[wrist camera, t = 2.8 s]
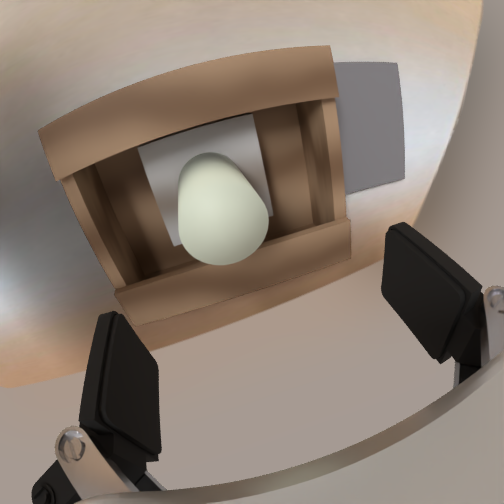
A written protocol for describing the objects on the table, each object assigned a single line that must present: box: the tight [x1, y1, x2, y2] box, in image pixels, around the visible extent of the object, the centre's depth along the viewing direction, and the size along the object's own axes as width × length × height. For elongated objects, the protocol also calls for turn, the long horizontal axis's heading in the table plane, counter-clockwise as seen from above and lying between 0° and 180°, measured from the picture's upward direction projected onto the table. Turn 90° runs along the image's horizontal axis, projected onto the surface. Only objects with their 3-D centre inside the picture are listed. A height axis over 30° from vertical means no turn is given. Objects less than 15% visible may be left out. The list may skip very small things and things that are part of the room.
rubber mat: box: [334, 62, 405, 194], centre depth 22 cm, size 12×8×1 cm, turn 12°
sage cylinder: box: [178, 152, 269, 265], centre depth 16 cm, size 4×4×7 cm
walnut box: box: [38, 45, 351, 327], centre depth 19 cm, size 16×18×6 cm
